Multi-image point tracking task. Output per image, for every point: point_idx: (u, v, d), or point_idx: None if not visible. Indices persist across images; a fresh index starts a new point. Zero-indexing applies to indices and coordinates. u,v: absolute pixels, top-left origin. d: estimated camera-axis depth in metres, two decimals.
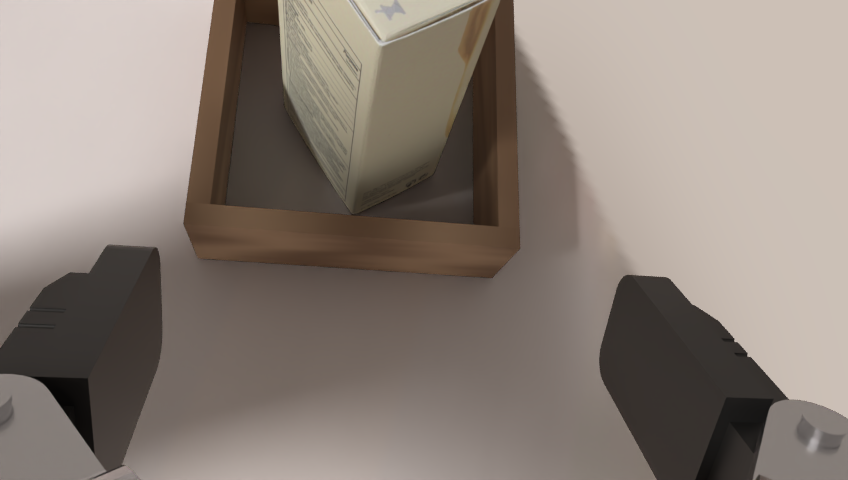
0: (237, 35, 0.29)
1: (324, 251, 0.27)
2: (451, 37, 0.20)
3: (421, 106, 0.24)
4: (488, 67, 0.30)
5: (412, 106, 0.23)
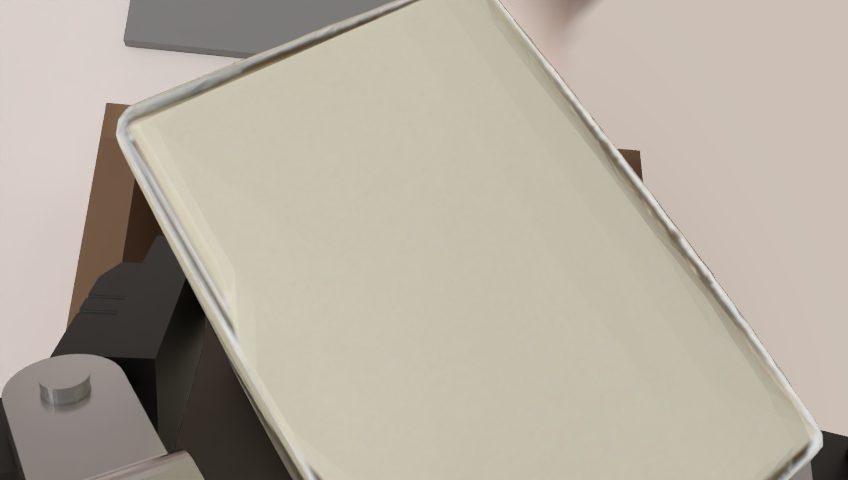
0: None
1: None
2: None
3: None
4: None
5: None
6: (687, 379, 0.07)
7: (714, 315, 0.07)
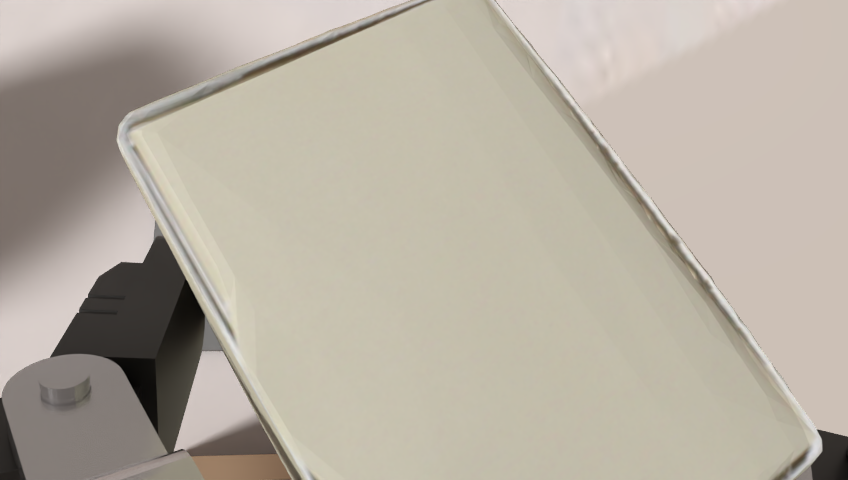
0: None
1: None
2: None
3: None
4: None
5: None
6: (687, 384, 0.07)
7: (714, 320, 0.07)
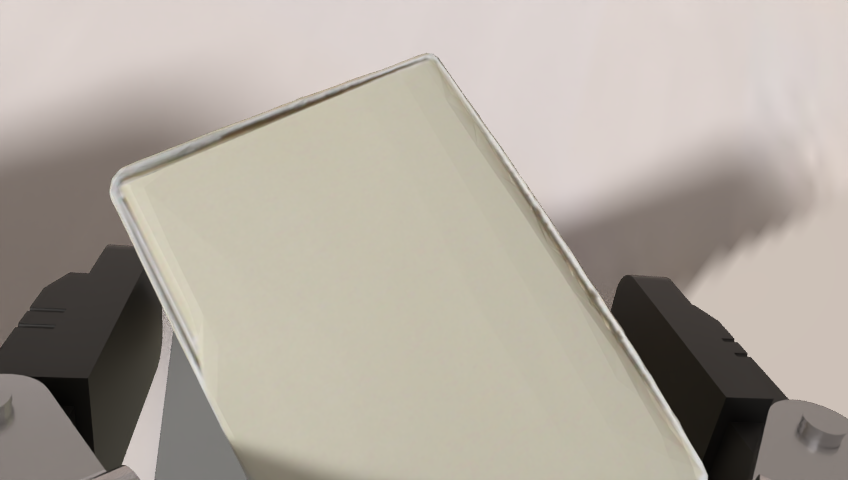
0: None
1: None
2: None
3: None
4: None
5: None
6: (591, 423, 0.08)
7: (621, 367, 0.08)
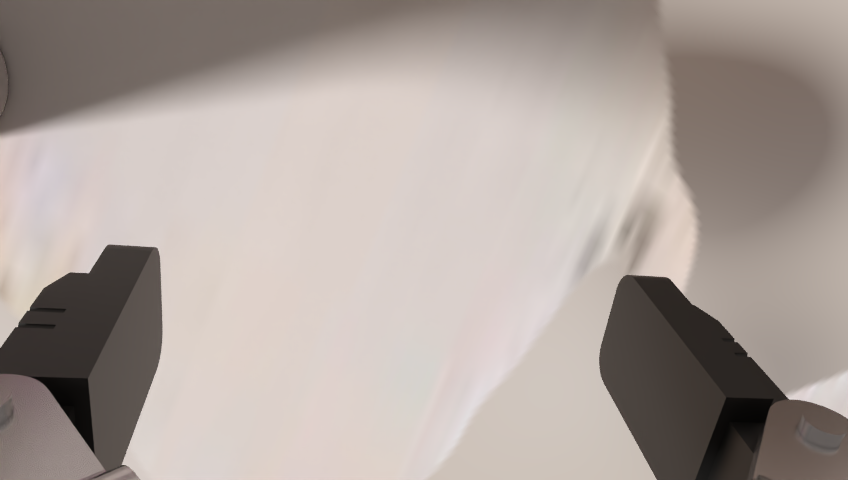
0: None
1: None
2: None
3: None
4: None
5: None
6: None
7: None
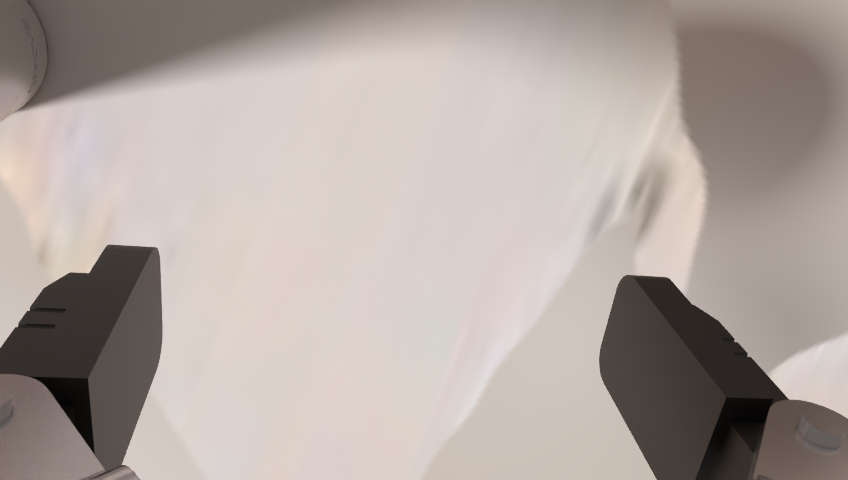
0: None
1: None
2: None
3: None
4: None
5: None
6: None
7: None
